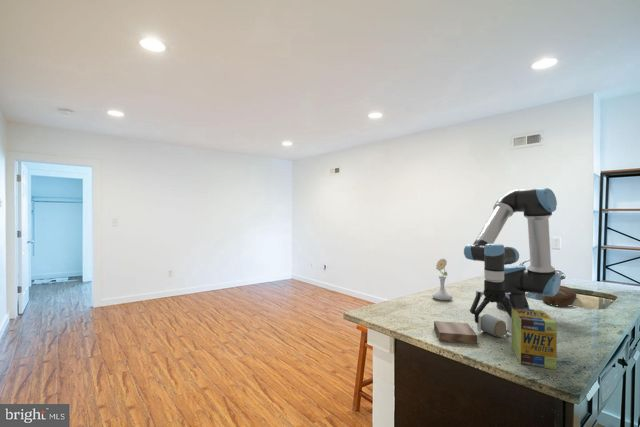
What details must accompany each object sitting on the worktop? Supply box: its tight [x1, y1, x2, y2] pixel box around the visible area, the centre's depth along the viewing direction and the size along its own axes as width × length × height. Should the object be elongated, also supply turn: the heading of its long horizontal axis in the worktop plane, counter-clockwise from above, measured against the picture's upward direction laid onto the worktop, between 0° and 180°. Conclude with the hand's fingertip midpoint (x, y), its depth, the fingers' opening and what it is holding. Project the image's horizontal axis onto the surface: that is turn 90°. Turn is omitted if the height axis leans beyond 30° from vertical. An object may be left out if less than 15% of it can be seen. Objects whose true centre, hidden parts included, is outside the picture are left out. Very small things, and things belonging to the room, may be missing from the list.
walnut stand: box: [433, 320, 478, 345], centre depth 132 cm, size 14×14×4 cm
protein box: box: [510, 307, 558, 370], centre depth 112 cm, size 10×15×16 cm
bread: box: [541, 285, 577, 307], centre depth 189 cm, size 16×36×8 cm, turn 136°
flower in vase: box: [432, 258, 453, 301], centre depth 188 cm, size 13×11×25 cm
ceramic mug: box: [481, 313, 508, 338], centre depth 134 cm, size 11×8×8 cm
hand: (493, 331), depth 134 cm, fingers closed on ceramic mug, 11 cm apart
